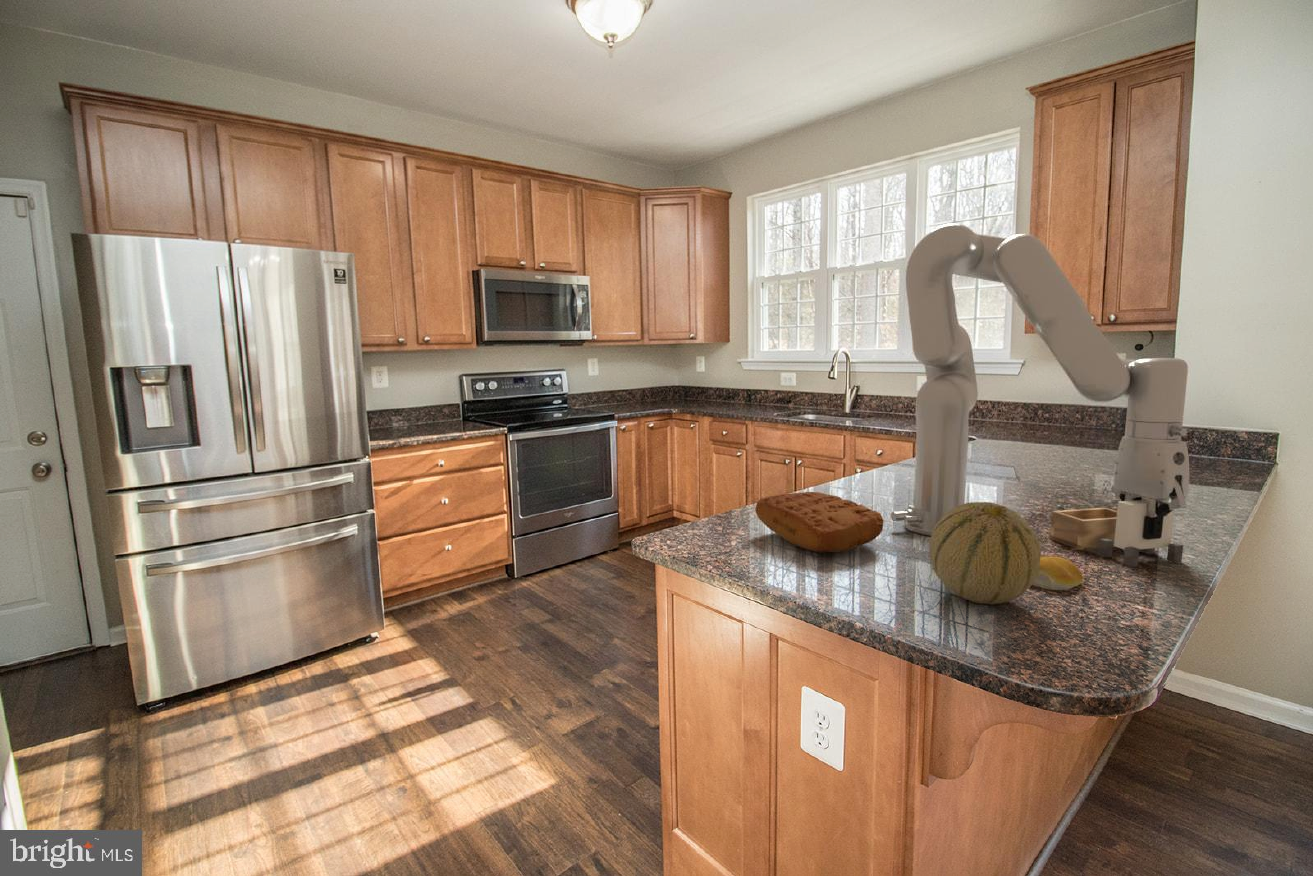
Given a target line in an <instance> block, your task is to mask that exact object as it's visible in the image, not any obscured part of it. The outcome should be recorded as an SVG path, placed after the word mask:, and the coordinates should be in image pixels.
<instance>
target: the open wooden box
mask: <svg viewBox="0 0 1313 876" xmlns="http://www.w3.org/2000/svg"><path fill="white" fill-rule="evenodd" d="M1116 519H1117V510H1115V509H1111V508H1108V507H1095V508H1082V509H1081V508H1077V509H1067V510H1066V509H1065V510H1052V512H1051V520H1050V521H1051V522H1050V530H1049V531H1050V532H1049V539H1050V540H1052V541H1055V542H1058V543H1060V544H1063V545H1065V546H1068V547H1071V548H1073V549H1076V550H1078V551H1086V552H1088V553H1091V554H1094V555H1096V556H1099V557H1102V558H1111V557H1113V550H1114V548H1116V547H1115V546H1114V541H1115V530H1116ZM1155 551H1156V548H1149V549H1138V548H1135V547H1125V550H1124V549H1123V552H1124V553H1123V562H1122V565H1124V566H1126V567H1129V568H1131V567H1138V564H1139V556H1140V552H1141V553H1142V554H1143V553H1144V554H1146V555H1147V554H1148V555H1149V554H1155ZM1183 552H1184V545H1183V544H1180V543H1178V542H1175V543H1171V544H1169V545H1168V547H1167V555H1166V561H1167V560H1168V561H1167V562H1170V561H1171V562H1170V563H1173V564H1175V563H1174V562H1177V563H1182V561H1183V554H1184V553H1183Z"/></svg>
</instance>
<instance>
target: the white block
mask: <svg viewBox="0 0 1313 876" xmlns="http://www.w3.org/2000/svg"><path fill="white" fill-rule="evenodd" d="M1169 502H1171V500H1169ZM1148 504H1149V499H1144V500H1134V501H1121V500H1120V501H1117V510H1116V511H1117V519H1116V530H1115V541H1114V546H1115V547H1114V548H1118V549H1122V550H1123V551H1124V550H1125V547H1135V548H1138V549H1149V548H1155V549H1158V548H1159V549H1160V548H1168V545H1169V544H1172V536H1173V535H1172V534H1173V528H1174V527H1173V525H1174V518H1175V517H1174V515H1175V510H1173V511H1172V512H1170V513H1169V514H1168V516H1166V517H1163V527H1162V535H1161V538H1160V539H1149V540H1147V539H1144V538H1143V529H1144V518H1145V516H1149V515H1148ZM1158 506H1159V503H1158Z"/></svg>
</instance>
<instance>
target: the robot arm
mask: <svg viewBox="0 0 1313 876" xmlns="http://www.w3.org/2000/svg"><path fill="white" fill-rule="evenodd" d="M953 275H956V276H962V277H967V278H973V279H980V280H983V281H989V282H996V283H1002V284H1003V286H1004V287H1006V289H1007V291H1008V292H1009V294H1010V295H1011V297H1012V298H1013V299H1014V301H1015V302H1016V304H1017V305H1018V307H1019V308H1020V310H1021V311H1022V313H1023V315H1024V316H1025V317H1026V319H1027V320H1028V322H1029V323H1030V325H1031V327H1032V328H1033V330H1034V332H1035V333H1036V334H1037V335H1038V336H1039V338H1040V339H1041V340H1042V341H1043V342H1044V343H1045V345H1046V346H1047V348H1048V349H1049V350H1050V352H1051V353H1052V355H1053V356H1054V358H1055V360H1056V361H1057V362H1058V364H1059V365H1060V367H1061V369H1062V370H1063V371H1064V373H1065V374H1066V376H1067V377H1068V379H1069V380H1070V382H1071V384H1072V385H1073V387H1074V388H1075V389H1076V391H1077V392H1078V393H1079V394H1080V396H1081V397H1083V398H1084V399H1086V400H1088V401H1090V402H1093V403H1109V402H1112V401H1116V400H1117V399H1119V398H1127V407H1126V420H1125V429H1124V436H1122V437H1121V439H1120V443H1119V446H1118V450H1117V453H1116V458H1115V464H1114V469H1113V470H1114V472H1113V484H1112V487H1111V488H1110V490H1111V491H1110V492H1111V493H1112V494H1114V495H1115V496H1116V497H1118V498H1119V499H1120V501H1134V500H1145V498H1147V499H1148V500H1149V504H1148V515H1149V516H1145V518H1144V529H1143V538H1144V539H1147V540H1149V539H1160V538H1161V535H1162V527H1163V517H1166V516H1168V514H1169V513H1170V512H1172V511H1173V510H1174V511H1175V510H1181V509H1185V508H1187V502H1186V499H1187V498H1188V496H1189V489H1190V461H1189V452H1188V451H1189V450H1188V446H1187V442H1186V441H1184V440H1183V441H1182V437H1186V435H1187V434H1188V429H1187V428H1186V427H1183V424H1184V423H1183V422H1184V412H1185V403H1186V392H1187V382H1188V372H1189V366H1188V364H1187V362H1186V360H1184V359H1181V358H1176V357H1175V358H1173V357H1172V358H1171V357H1169V358H1168V357H1152V358H1151V357H1150V358H1148V357H1147V358H1139V359H1126V358H1120V357H1119V355H1118V354H1117V352H1116V351H1115V350H1114V348H1113V347H1112V345H1111V344H1110V342H1109V341H1108V339H1107V338H1106V337H1105V335H1104V334H1103V332H1102V331H1101V329H1100V328H1099V327H1098V325H1097V324H1096V322H1095V321H1094V319H1093V317H1092V316H1091V314H1090V312H1089V308H1088V307H1087V305H1086V303H1085V301H1084V300H1083V298H1082V297H1081V295H1080V294H1079V292H1078V291H1077V290H1076V288H1075V287H1074V285H1073V284H1072V282H1071V281H1070V280H1069V278H1068V277H1067V276H1066V274H1065V273H1064V272H1063V270H1062V268H1061V266H1059V264H1058V262H1057V261H1056V260H1055V258H1054V257H1053V256H1052V254H1051V253H1050V251H1049V250H1048V248H1047V247H1046V246H1045V244H1044V243H1043V241H1041V240H1040V239H1039V238H1038V237H1037V236H1035V235H1032V234H1029V233H1018V234H1015V235H1011V236H1010V237H1001V236H993V235H987V234H982V233H981V234H980V233H976V232H974V231H973V230H972V229H971V228H970V227H969V226H966V225H965V224H961V223H955V222H951V223H947V224H943V225H940V226H937V227H936V228H934V229H932V230H931V231H930V232H929V233H927V234H926V235H925V236H924V237H923V238H922V239H921V240H920V241H918V243H917V245H916V246H915V247H914V248H913V250H912V252H911V254H910V256H909V260H908V261H907V266H906V270H905V288H906V289H905V290H906V296H907V297H906V299H907V305H908V306H907V307H908V318H909V323H910V330H911V331H910V332H911V341H912V342H911V343H912V349H913V355H914V357H915V358H916V360H917V361H918V363H920V364H921V365H922V366H924V370H925V371H924V372H925V377H926V381H925V382H924V383H923V384H922V385H921V387H920V388H919V390H918V392H917V395H916V399H915V423H916V424H915V425H916V431H915V434H916V435H915V436H916V437H915V438H916V440H915V461H914V462H915V464H914V481H913V482H914V483H913V501H912V502H913V503H912V504H913V505H912V504H911V505H908V508H907V509H905V510H904V511H899V510H898V511H892V512H891V513H890V519H891V521H893V522H900V521H901V522H902V521H903V522H904V523H903V525H904V527H905V528H906V529H907V530H909V531H911V532H913V531H914V532H913V533H916V532H917V533H916V534H920V535H924V536H930V537H931V536H932V533H933V530H934V528H935V526H936V525H937V523H938V521H939V520H940V519H941V518H942V517H943V516H944V515H945V514H946V513H948V512H949V511H951V510H952V509H953V508H955V507H957V506H960V505H962V504H966V501H965V500H966V487H967V473H968V471H967V470H968V456H969V455H968V453H969V452H968V451H969V420H970V419H969V416H970V415H969V414H970V412H971V411H972V410H973V409H974V407H975V405H976V403H977V402H978V401H977V400H978V394H979V393H978V391H979V390H978V382H977V375H976V368H975V362H974V360H975V359H974V354H973V347H972V341H971V339H970V335H969V332H968V331H966V330H967V329H965V328H964V327H963V326H962V325H961V324H959V320H958V319H959V318H958V313H957V307H956V297H955V292H954V291H955V290H954V288H953V287H954V286H953ZM1169 501H1171V502H1169ZM1158 503H1159V506H1158Z"/></svg>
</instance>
